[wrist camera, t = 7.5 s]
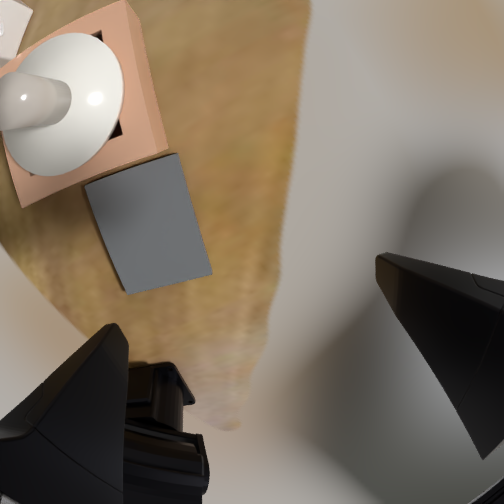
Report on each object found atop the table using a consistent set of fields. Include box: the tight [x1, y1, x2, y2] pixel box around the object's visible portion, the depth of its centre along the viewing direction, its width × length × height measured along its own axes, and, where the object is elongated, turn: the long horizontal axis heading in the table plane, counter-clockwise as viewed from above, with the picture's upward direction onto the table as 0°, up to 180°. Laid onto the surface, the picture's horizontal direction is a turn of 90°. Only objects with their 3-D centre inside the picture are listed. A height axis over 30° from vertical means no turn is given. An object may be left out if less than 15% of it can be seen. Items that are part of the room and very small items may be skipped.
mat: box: [84, 153, 212, 295], centre depth 19 cm, size 9×7×1 cm
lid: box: [0, 33, 125, 176], centre depth 9 cm, size 8×8×5 cm
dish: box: [0, 0, 169, 208], centre depth 14 cm, size 10×10×4 cm
